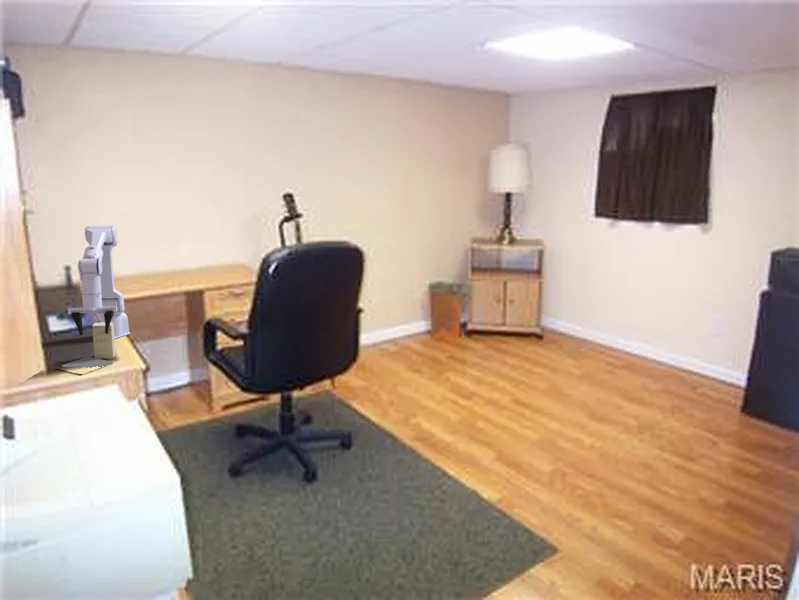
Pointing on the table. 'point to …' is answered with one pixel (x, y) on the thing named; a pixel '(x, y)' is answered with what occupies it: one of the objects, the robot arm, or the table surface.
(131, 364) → the table surface
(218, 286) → the table surface
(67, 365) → the mat
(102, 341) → the skincare box
